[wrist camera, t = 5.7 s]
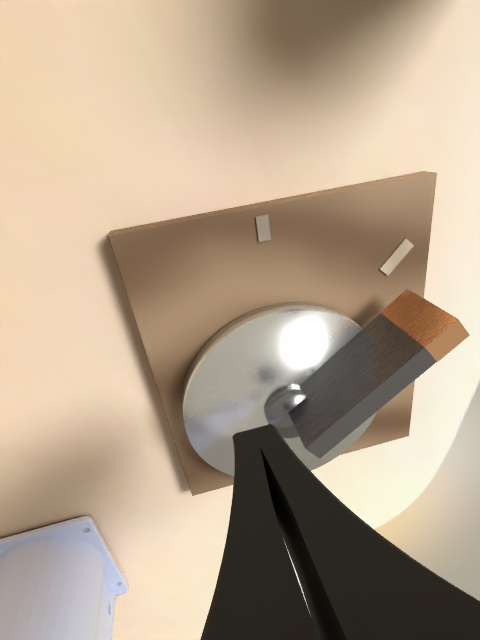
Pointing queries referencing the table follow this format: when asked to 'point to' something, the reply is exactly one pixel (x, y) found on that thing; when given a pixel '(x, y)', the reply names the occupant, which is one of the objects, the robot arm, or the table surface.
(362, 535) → the robot arm
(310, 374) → the dial
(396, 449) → the table surface
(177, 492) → the table surface
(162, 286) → the dial board
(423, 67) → the table surface
